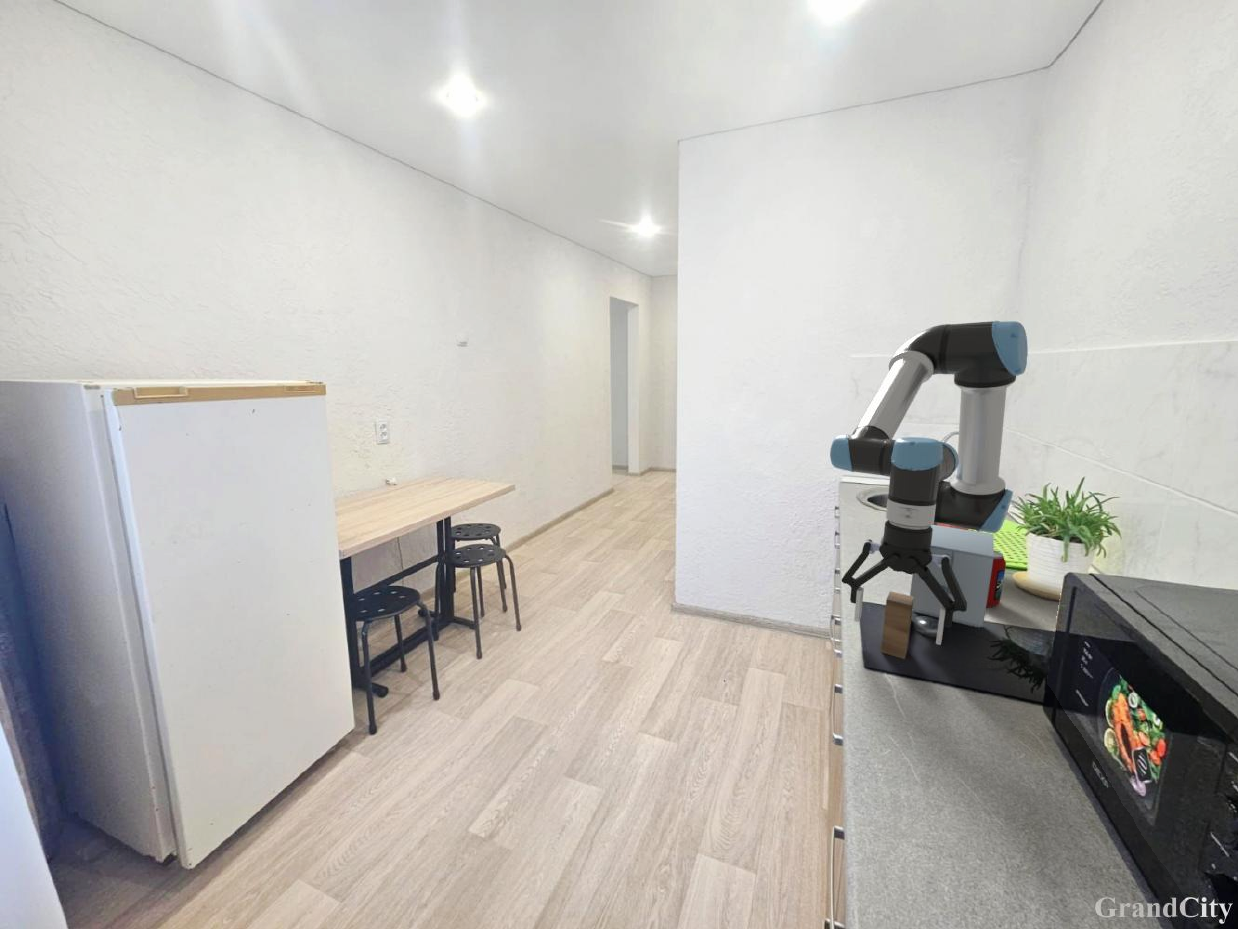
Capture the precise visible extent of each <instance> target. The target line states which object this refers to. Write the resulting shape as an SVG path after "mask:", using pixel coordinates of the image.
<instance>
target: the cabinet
mask: <svg viewBox="0 0 1238 929" xmlns="http://www.w3.org/2000/svg"><path fill="white" fill-rule="evenodd" d="M931 528H932V529H933V532H932V540H931V548H930V550H931V553H932V554H935V555H943V554H946V553H947V554H949V555H950V557H951V568H952V570H953V573H954V575H955V577H956V579H957V582H958V584H959V586H960V588H961V590H962V593H963V595H964V597H965V599H966V602H967V610H966V611H965V612H961V611H955V612H954V613H953V619H952V623H953V622H954V623H957V624H962V625H966V626H970V627H973V626H974V628H977V627H978V628H977V629H980V628H983V627H984V621H985V616H986V609H987V607H986V604H987V597H988V591H989V584H990V578H991V571H992V565H993V558H994V550H995V542H994V538H995V536H994V534H995V533H989V532H983V531H979V532H978V531H977V530H971V529H968V530H967V529H965V528H959V527H952V526H951V527H949V526H944V525H938V524H937V525H931ZM927 567H928V568H929V570H930V572H931V573H932V575H933V576H934V577H935V579H936V580H937V581H938V583H939V584H940V585H941V586H942V588H943V589H944V590H945V592H946V593H947V594H948V596H949V597H950V598H951V599H952V601H955V600H954V598H953V596H952V593H951V591H950V589H949V587H948V584H947V582H946V580H945V578H944V575H943V573H942V568H939V567H938V566H937V565H936V563H935V562H934V561H931V562H930V563H929V564H928V565H927ZM910 586H911V587H910V594H909V596H913V597H914V600H913V609H912V613H913V612H914V613H917V614H918V613H919V614H923V615H926V616H928V617H932V618H937V619H939V616H940V609H941V605H942V604H941V603H940V602H939V600H938V599H937V598H936V596H935V595H934V594H933V592H932V591H931V590H930V588H929V587H928V586H927V584H926V583H925V582H924V581H923V580H922V579H921V578H920V577H919V575H918V574H917V573H915V574H912V577H911V585H910Z"/></svg>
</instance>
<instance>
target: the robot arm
mask: <svg viewBox="0 0 1238 929" xmlns="http://www.w3.org/2000/svg"><path fill="white" fill-rule="evenodd" d="M1027 337H1028V336H1027V332H1026V329H1025V327H1024V325H1023V324H1022V323H1021V322H1018V321H1015V320H1014V321H1012V320H1011V321H1007V320H1006V321H999V320H994V321H993V320H991V321H981V322H968V323H965V322H964V323H952V324H951V323H950V324H949V323H945V324H939V325H935V326H932V327H930V328H929V327H928V328H927V329H924V330H923V331H921V332H919V333H917V334H915V335H914V336H911V338H909V339H908V340H907V341H905V342H904V343H903V344H902V345H901V346H900V347H899V348H898V349H897V350H896V351H895V353H894V354H893V355H892V357H891V359H890V361H889V364H888V373H887V375H886V376H885V377H884V380H883V382H881V384H880V386H879V388H878V390H877V392H876V393H875V395H874V397H873V399H872V401H871V402H870V403H869V405H868V407H867V409H866V410H865V412H864V413H863V415H862V417H861V419H860V420H859V423H858V424H857V425H856V427H855V429H854V431H853V433H852V434H851V435H849V434H840V435H838V436H836V437H835V438H834V439H833V441H832V444H831V445H830V446H831V447H830V452H829V457H830V461H831V464H832V466H833V467H834V468H836V469H838V470H843V471H848V472H851V473H860V474H869V475H875V476H876V475H877V476H883V477H889V482H888V483H889V485H888V493H887V501H886V502H887V503H886V510H885V518H886V521H885V522H884V529H883V536H882V537H881V540H880V543H877V542H874V541H873V540H872V539H867V540H865V542H864V544H863V547H862V550H861V553H860V554H859V556H858V557H857V558H856V560H855V561H854V562H853V563H852V565H850V567H849V569H847V571H846V572H845V574H844V575H843V576H842V578H841V583H843V584H845V585H848V586H849V587H850V595H849V596H850V599H849V601H850V603H851V604H855V607H854V608H855V609H854V618H853V620H854V622H858V623H859V621H860V620H861V617H862V612H863V600H864V591H865V586H864V584H866V583H867V582H869V581H871V579H873V578H874V577H876V576H877V575H878V574H880V573H882V572H884V571H885V570H887V569H888V568H889V569H891V570H892V571H893V572H898V573H899V572H900V573H901V572H902V573H905V574H907V575H913V574H915V573H917V574H918V575H919V577H920V578H921V579H922V580H923V581H924V582H925V583H926V584H927V586H928V587H929V588H930V590H931V591H932V592H933V594H934V595H935V596H936V598H937V599H938V600H939V602H940V603H941V604H942V605H941V609H940V616H939V618H938V620H939V623H938V631H937V637H935V639H936V640H935V644H936V645H939V646H941V645H942V640H943V635H944V634H943V632H944V628H949V629H950V628H951V627H952V624H953V621H952V619H953V613H954V612H955V611H961V612H965V611H966V610H967V602H966V599H965V597H964V595H963V593H962V590H961V588H960V586H959V584H958V582H957V579H956V577H955V575H954V573H953V570H952V568H951V557H950V555H949V554H947V553H946V554H943V555H935V554H932V553H931V550H930V548H931V540H932V532H933V529H932V528H931V525H938V524H942V525H946V526H951V527H952V526H953V527H956V528H961V529H966V530H967V529H968V530H971V531H977V532H983V533H989V534H995V533H998V532H999V531H1000V530H1001V528H1002V527H1003V525H1004V523H1005V520H1006V517H1007V514H1008V512H1009V508H1010V505H1011V503H1012V500H1013V493H1014V492H1013V491H1012V490H1010V489H1008V488H1006V481H1005V480H1004V479H1003V478H1002V477H1000V462H1001V454H1002V453H1001V452H1002V443H1003V442H1002V441H1003V431H1004V418H1005V410H1006V400H1007V399H1006V398H1007V389H1008V388H1009V387H1010V386H1012V385H1013V384H1015V382H1016V381H1017V377H1018V376H1020V375H1023V374H1024V373H1025V372H1026V368H1027V365H1028V338H1027ZM933 375H953V383H954V386H956V387H958V388H959V389H960V403H959V404H960V407H959V408H960V409H959V421H958V422H959V424H958V426H959V427H958V440H957V442H958V443H957V444H958V446H957V450H956V449H955V448H954V447H953V446H952V445H951V444H949V443H947V442H944V441H940V440H938V439H935V438H929V437H928V438H927V437H919V436H917V437H913V436H909V437H900V438H898V439H893V438H894V437H895V434H896V433H897V431H898V430H899V428H900V426H901V424H902V422H903V420H904V418H905V417H906V414H907V412H908V411H909V409H910V407H911V405H912V403H913V401H914V399H915V398H916V396H917V394H918V392H919V390H920V389H921V386H922V385H923V384H924V383H926V382H927V381H929V380H930V378H932V376H933ZM955 471H956V474H954V475H953V473H954V472H955ZM949 477H950V478H949ZM947 479H949V481H947ZM945 480H946V481H945ZM877 551H878V552H879V554H880V555H881V557H882V559H880V560H879V561H878V562H877V563H875V564H874V565H872V566H871V567H870V568H869V569H867V570H866V571H864V572H863V573H862V574H860V575H859V576H858V577H853V576H854V575H855V574H856V573H857V571H858V570H859V569H860V567H862V565H863V563H864V562H865V561H866V560H867V558H868V556H870V554H871V555H873V554H875V552H877ZM931 561H934V562H935V563H936V565H937V566H938V567H939V568H942V573H943V575H944V578H945V580H946V582H947V584H948V587H949V589H950V591H951V593H952V596H953V598H954V600H955V601H952V599H951V598H950V597H949V596H948V594H947V593H946V592H945V590H944V589H943V588H942V586H941V585H940V584H939V583H938V581H937V580H936V579H935V577H934V576H933V575H932V573H931V572H930V570H929V568H928V567H927V565H928V564H929V563H930V562H931Z"/></svg>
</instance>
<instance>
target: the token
mask: <svg viewBox="0 0 1238 929" xmlns="http://www.w3.org/2000/svg"><path fill="white" fill-rule="evenodd" d="M938 623H939V619H938V618H937V619H936V618H935V617H932V616H927V615H926V616H923V615H920V616H916V617H915V619H914V624H913V625H914V626H913V629H914V630H915V632H917V633H919V634H920V635H923V636H926V637H929V638H937V631H938Z"/></svg>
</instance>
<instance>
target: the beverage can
mask: <svg viewBox="0 0 1238 929" xmlns="http://www.w3.org/2000/svg"><path fill="white" fill-rule="evenodd" d="M1006 566H1007V562H1006V559H1005V558H1004V554H1003V553H1002V552H1000V551H997V550H995V549H994V558H993V565H992V571H991V578H990V584H989V591H988V597H987V604H986V608H990V607H994V606H998V605H999V604H1000V603H1001V597H1002V592H1003V585H1004V578H1005V572H1006Z"/></svg>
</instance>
